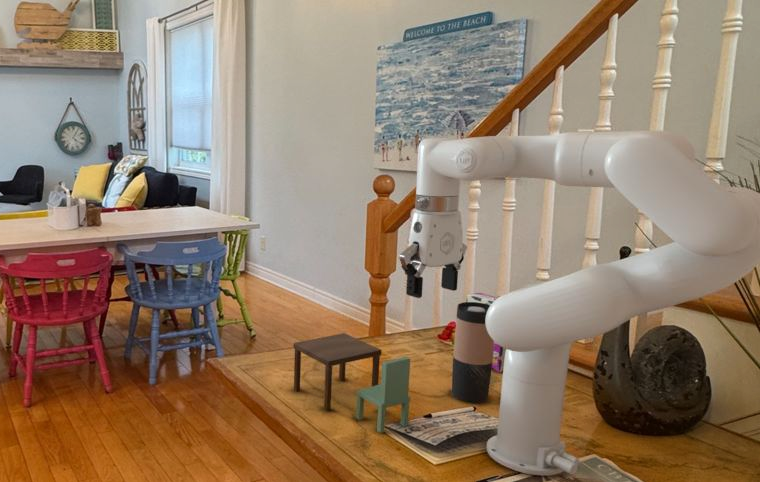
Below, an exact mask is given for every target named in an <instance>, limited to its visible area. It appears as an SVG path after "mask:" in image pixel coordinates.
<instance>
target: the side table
mask: <svg viewBox="0 0 760 482" xmlns="http://www.w3.org/2000/svg"><path fill="white" fill-rule="evenodd" d="M293 349H294V366H293V367H294V368H293V374H294V375H293V391H294V392H296V393H297V392H300V391H301V370H302V369H301V365H302V363H301V362H302V354H304V355H305V356H307V357H309V358H312V359H313V360H315V361H317V362H318V363H321V364H323V365H324V366H325V368H324V369H325V370H324V397H323V398H324V399H323V401H324V402H323V409H324V411H326V412H328V411H331V410H332V388H333V386H332V385H333V366H338V365H339V366H338V367H339V370H338V380H339V381H340V382H343V381H345V380H346V364H347V363H351V362H357V361H360V360H365V359H370V358H372V368H371V369H372V370H371V371H372V372H371V387H372V386H376V385H379V381H380V379H379V377H380V358H381V356H382V349H381V348H378V347H376V346H374V345H371V344H370V343H367V342H365V341H363V340H360V339H358V338H356V337H354V336H352V335H349V334H347V333H346V332H345V333H344V332H342V333H337V334H332V335H327V336H323V337H316V338H312V339H308V340H307V339H306V340H301V341H297V342H294V343H293Z"/></svg>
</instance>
